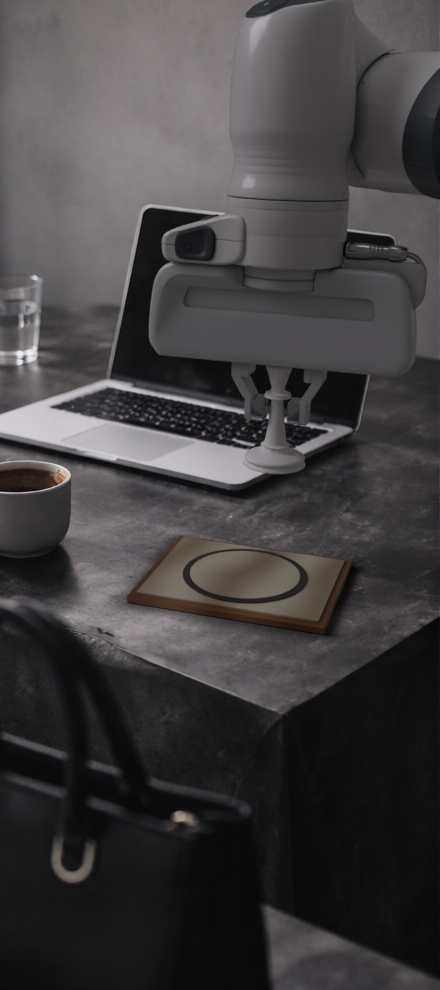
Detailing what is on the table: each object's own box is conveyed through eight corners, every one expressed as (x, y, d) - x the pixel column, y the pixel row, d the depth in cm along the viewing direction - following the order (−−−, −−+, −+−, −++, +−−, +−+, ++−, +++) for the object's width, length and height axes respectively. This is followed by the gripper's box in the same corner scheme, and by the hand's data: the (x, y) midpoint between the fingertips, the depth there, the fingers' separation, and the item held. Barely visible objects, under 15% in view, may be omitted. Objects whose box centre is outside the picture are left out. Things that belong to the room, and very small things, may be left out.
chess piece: (230, 461, 78) (234, 336, 74) (275, 450, 81) (282, 330, 77) (272, 478, 74) (279, 348, 71) (318, 466, 77) (327, 341, 74)
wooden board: (352, 566, 86) (353, 556, 85) (324, 635, 74) (324, 623, 74) (179, 541, 90) (179, 531, 89) (126, 602, 78) (126, 591, 78)
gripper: (434, 242, 72) (415, 424, 76) (169, 227, 77) (168, 398, 82) (425, 252, 66) (406, 447, 71) (141, 234, 71) (141, 417, 76)
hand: (276, 420), depth 76 cm, fingers closed on chess piece
